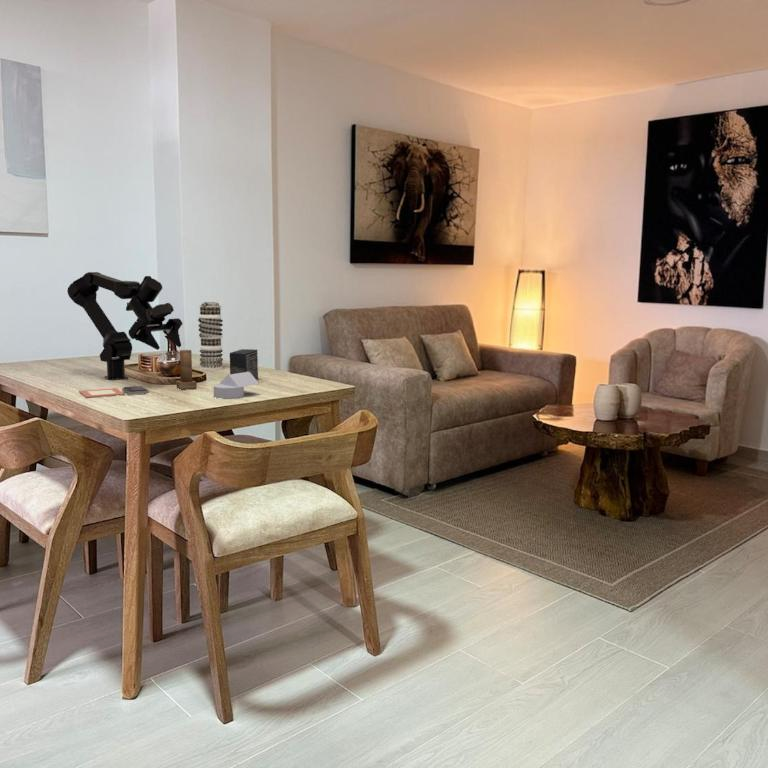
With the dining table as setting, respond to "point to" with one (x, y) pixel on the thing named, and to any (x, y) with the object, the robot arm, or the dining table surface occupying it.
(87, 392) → the print card
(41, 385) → the dining table surface
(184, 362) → the stamp
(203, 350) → the decorative candle
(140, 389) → the ink pad
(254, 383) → the wedge on round base
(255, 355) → the small box
